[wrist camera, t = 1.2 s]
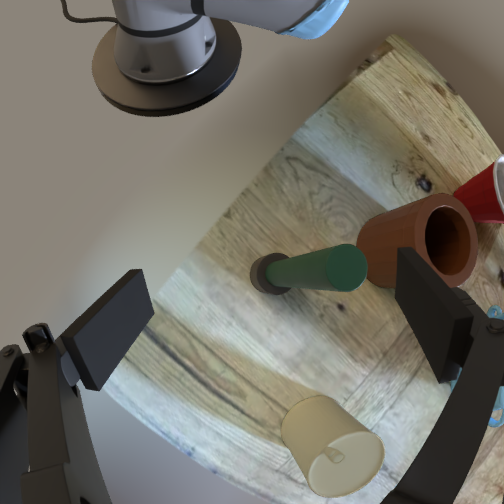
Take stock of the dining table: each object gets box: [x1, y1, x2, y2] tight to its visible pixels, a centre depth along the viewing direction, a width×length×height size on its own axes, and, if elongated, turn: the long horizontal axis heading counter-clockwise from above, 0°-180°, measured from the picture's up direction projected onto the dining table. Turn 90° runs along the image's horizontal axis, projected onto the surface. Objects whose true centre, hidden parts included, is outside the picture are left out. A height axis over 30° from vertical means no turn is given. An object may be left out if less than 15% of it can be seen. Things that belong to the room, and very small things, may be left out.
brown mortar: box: [356, 193, 478, 288], centre depth 35 cm, size 10×10×13 cm
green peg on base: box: [250, 244, 368, 295], centre depth 28 cm, size 4×4×22 cm
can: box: [281, 396, 385, 498], centre depth 32 cm, size 9×9×12 cm
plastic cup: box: [453, 155, 504, 224], centre depth 39 cm, size 11×11×12 cm
